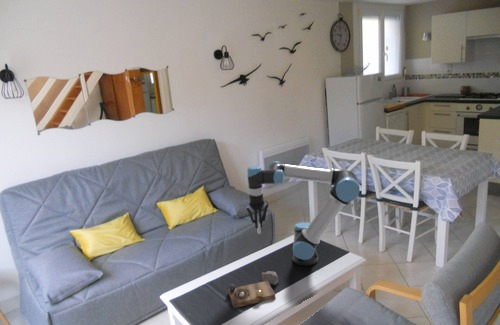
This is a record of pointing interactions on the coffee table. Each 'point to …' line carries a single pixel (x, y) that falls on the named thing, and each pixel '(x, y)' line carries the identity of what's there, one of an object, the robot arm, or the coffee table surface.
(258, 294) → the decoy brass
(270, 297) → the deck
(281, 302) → the coffee table surface
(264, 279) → the stone
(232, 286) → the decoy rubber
